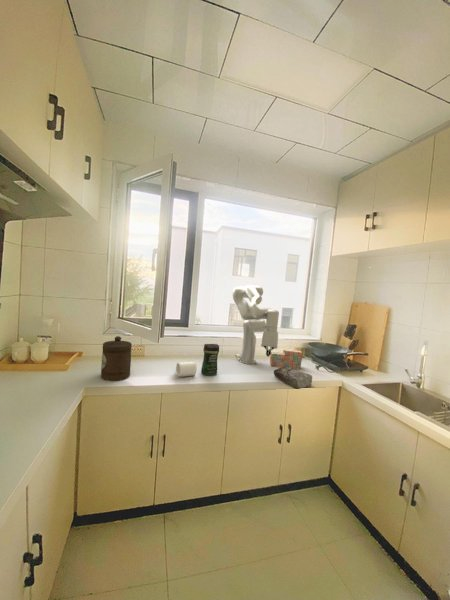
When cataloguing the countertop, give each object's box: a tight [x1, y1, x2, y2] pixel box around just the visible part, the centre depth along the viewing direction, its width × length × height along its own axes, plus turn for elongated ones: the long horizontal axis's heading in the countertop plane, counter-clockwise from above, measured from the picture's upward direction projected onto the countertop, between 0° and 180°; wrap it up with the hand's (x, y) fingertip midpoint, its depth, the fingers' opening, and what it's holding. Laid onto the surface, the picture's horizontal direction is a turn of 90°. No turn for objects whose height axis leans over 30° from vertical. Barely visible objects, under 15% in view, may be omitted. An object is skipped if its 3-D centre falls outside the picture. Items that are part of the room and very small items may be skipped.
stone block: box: [273, 367, 313, 390], centre depth 157 cm, size 13×7×20 cm
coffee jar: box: [200, 343, 220, 376], centre depth 157 cm, size 10×8×19 cm
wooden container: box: [100, 335, 132, 382], centre depth 140 cm, size 15×15×22 cm
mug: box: [175, 361, 197, 378], centre depth 153 cm, size 12×10×8 cm
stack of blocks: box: [269, 348, 303, 370], centre depth 187 cm, size 21×6×12 cm, turn 89°
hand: (268, 356), depth 169 cm, fingers closed
